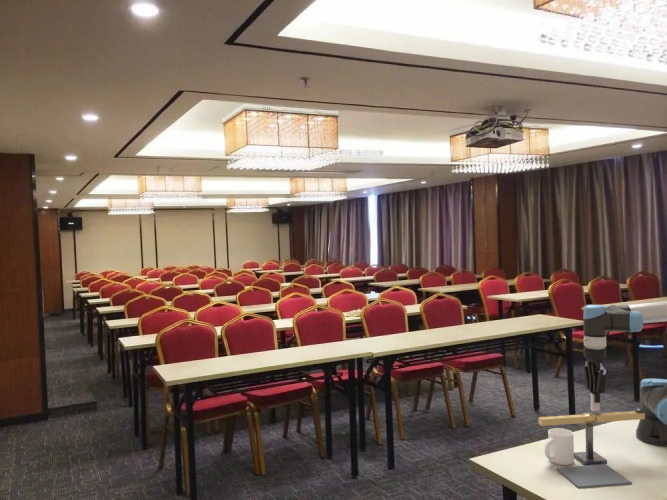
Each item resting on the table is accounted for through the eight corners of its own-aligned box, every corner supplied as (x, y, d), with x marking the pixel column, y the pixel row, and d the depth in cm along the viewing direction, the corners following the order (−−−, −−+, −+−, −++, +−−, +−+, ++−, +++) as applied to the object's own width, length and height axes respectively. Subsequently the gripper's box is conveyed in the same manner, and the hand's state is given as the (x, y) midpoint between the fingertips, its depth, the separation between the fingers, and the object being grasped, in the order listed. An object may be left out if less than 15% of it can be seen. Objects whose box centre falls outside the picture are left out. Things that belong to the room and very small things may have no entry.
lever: (639, 416, 198) (639, 407, 198) (647, 420, 194) (647, 411, 194) (537, 422, 195) (536, 413, 195) (543, 427, 190) (542, 417, 190)
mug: (555, 470, 188) (554, 440, 187) (536, 461, 195) (535, 432, 195) (579, 462, 193) (578, 433, 193) (559, 454, 201) (559, 426, 200)
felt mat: (606, 465, 190) (606, 464, 190) (631, 484, 176) (631, 482, 176) (556, 469, 188) (556, 467, 188) (578, 488, 174) (578, 486, 174)
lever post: (594, 455, 199) (593, 418, 199) (607, 464, 191) (606, 425, 191) (573, 456, 198) (572, 419, 198) (585, 466, 190) (584, 427, 190)
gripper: (575, 344, 209) (576, 405, 210) (595, 351, 196) (595, 416, 197) (594, 343, 210) (594, 404, 211) (615, 350, 197) (615, 415, 198)
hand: (595, 410), depth 204 cm, fingers closed
